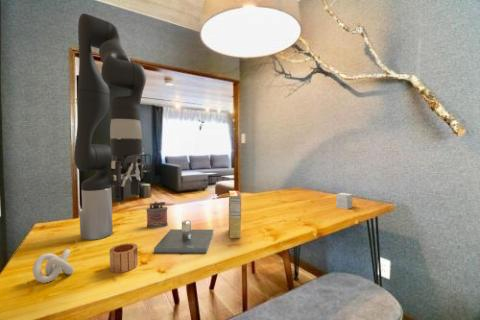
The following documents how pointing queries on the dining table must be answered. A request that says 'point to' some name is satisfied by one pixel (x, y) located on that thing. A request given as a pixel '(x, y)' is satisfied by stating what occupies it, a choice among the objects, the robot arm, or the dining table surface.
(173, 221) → the dining table surface
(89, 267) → the dining table surface
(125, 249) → the wooden tube
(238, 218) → the candy box
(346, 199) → the skincare box
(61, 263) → the knot
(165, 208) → the lighter
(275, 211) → the dining table surface
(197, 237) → the base
